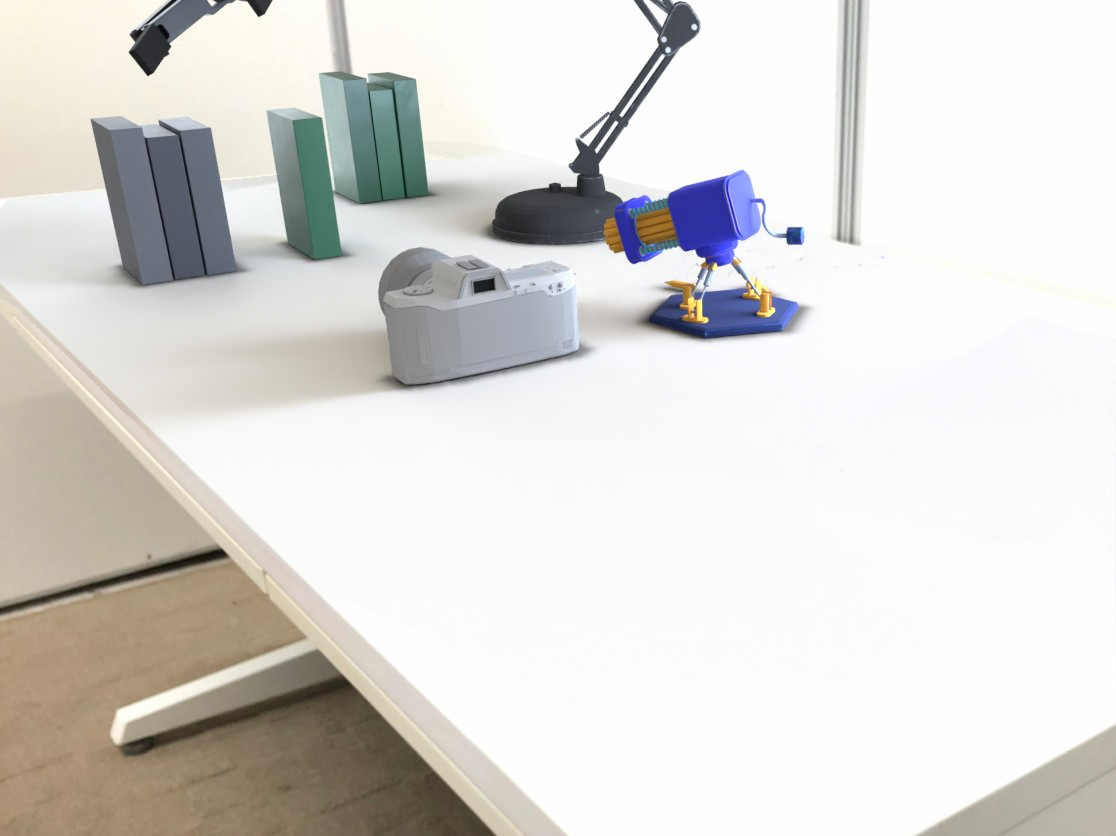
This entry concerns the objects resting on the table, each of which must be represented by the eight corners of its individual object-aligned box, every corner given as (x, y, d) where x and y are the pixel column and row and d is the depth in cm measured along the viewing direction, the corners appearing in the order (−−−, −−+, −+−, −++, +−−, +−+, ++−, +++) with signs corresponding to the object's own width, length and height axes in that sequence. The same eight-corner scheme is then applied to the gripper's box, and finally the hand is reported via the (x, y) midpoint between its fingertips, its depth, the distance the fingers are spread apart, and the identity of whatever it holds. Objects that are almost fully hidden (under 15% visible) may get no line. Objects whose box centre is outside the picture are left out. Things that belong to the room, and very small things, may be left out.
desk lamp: (394, 238, 145) (334, -233, 125) (546, 197, 164) (516, -217, 144) (564, 266, 133) (528, -250, 113) (706, 218, 152) (698, -229, 132)
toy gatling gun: (701, 276, 129) (698, 144, 124) (842, 310, 118) (846, 167, 112) (590, 307, 120) (582, 165, 114) (732, 347, 109) (731, 193, 103)
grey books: (122, 266, 134) (90, 118, 128) (213, 253, 139) (186, 110, 132) (142, 285, 128) (109, 130, 121) (237, 271, 132) (210, 121, 126)
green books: (335, 191, 168) (318, 72, 162) (402, 183, 173) (388, 67, 166) (359, 203, 162) (342, 80, 155) (429, 194, 166) (415, 74, 160)
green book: (287, 243, 143) (265, 109, 137) (314, 239, 145) (293, 107, 138) (314, 259, 136) (292, 120, 130) (342, 255, 138) (322, 117, 132)
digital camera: (535, 359, 118) (550, 247, 115) (587, 400, 107) (605, 278, 103) (346, 342, 111) (357, 223, 107) (380, 385, 99) (392, 252, 96)
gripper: (362, -64, 142) (325, 13, 126) (179, 34, 148) (123, 119, 133) (319, -132, 137) (275, -61, 121) (132, -27, 143) (68, 53, 128)
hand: (195, 33), depth 127 cm, fingers open, 13 cm apart
